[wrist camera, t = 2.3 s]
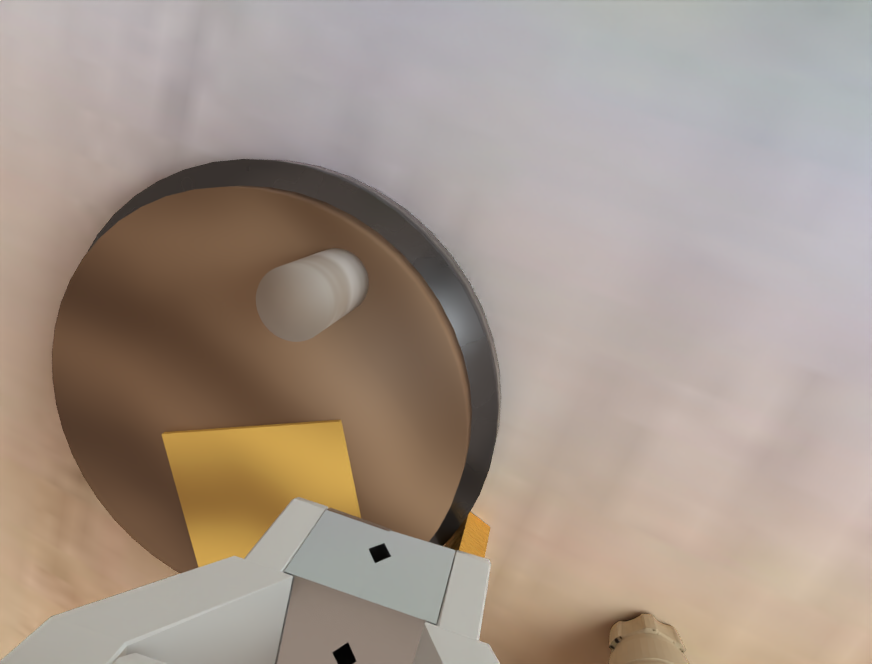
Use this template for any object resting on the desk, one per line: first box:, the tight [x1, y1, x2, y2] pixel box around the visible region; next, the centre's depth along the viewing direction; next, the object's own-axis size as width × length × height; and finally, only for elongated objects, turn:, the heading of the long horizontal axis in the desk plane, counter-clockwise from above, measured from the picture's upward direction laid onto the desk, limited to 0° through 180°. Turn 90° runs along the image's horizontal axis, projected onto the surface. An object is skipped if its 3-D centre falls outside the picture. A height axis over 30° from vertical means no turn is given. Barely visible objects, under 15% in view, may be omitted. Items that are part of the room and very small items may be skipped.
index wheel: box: [52, 186, 472, 573], centre depth 23 cm, size 18×18×6 cm
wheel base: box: [87, 159, 501, 558], centre depth 26 cm, size 20×21×4 cm
